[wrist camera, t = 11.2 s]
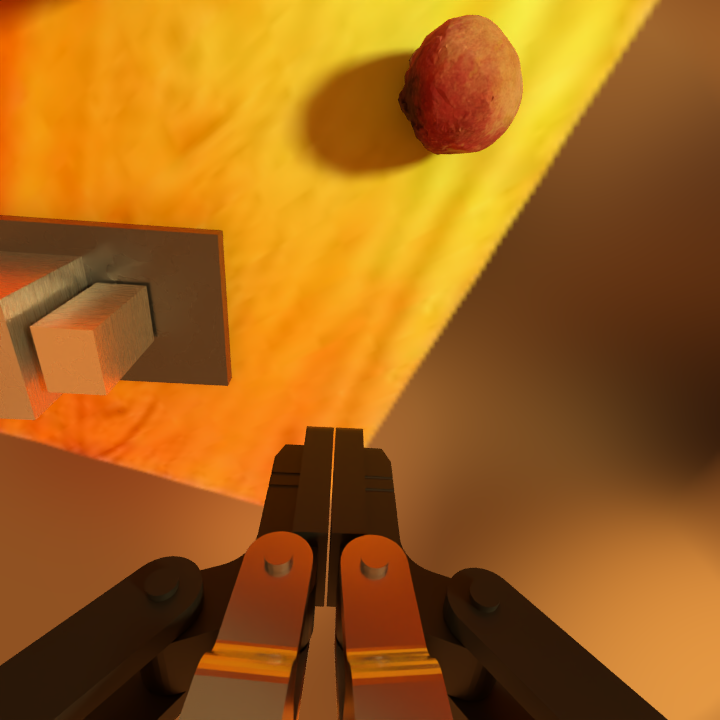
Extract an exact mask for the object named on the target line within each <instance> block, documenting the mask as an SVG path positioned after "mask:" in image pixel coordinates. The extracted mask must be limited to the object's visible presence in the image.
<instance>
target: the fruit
mask: <svg viewBox="0 0 720 720" xmlns="http://www.w3.org/2000/svg"><path fill="white" fill-rule="evenodd" d="M409 61H410V68H409V70H408V71H407V72H406V74H405V85H404V87H403V90H402V91H401V92H400V94H399V99H398V101H399V104H400V107H401V110H402V112H403V113H404V114H405V115H406V117H407V119H408V120H409V121H410V122H411V124H412V127H413V130H414V132H415V135H416V138H418V139H419V140H420V141H421V142H422V144H423V145H424V147H425V148H426V149H427V150H429V151H431V152H432V153H434V154H437V155H438V154H460V153H471V152H478V151H481V150H483V149H485V148H487V147H489V146H490V145H491V144H493V143H494V142H495V141H496V140H497V139H498V138H499V137H500V136H501V135H502V134H503V133H504V132H505V131H506V130H507V129H508V127H509V126H510V124H511V123H512V121H513V119H514V117H515V115H516V113H517V111H518V109H519V106H520V102H521V99H522V93H523V81H522V74H521V67H520V61H519V57H518V55H517V53H516V51H515V49H514V47H513V46H512V44H511V43H510V41H509V40H508V39H507V37H506V36H505V35H504V33H503V32H502V31H501V30H500V28H499V27H498V26H497V25H496V24H495V23H493V22H492V21H491V20H489V19H488V18H485V17H482V16H479V15H466V16H461V17H457V18H452V19H449V20H447V21H446V22H445V23H444V24H442V25H441V26H439V27H438V28H437V29H435V30H434V31H433V32H431V33H430V34H429V35H428V36H426V38H425V39H424V41H423V43H422V44H421V46H420V48H419V49H417V50H416V51H415V52H414V54H413V55H412V57H411V58H410V60H409Z"/></svg>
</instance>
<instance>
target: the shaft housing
mask: <svg viewBox="0 0 720 720" xmlns="http://www.w3.org/2000/svg"><path fill="white" fill-rule="evenodd" d="M95 283H111V284H127V285H143V286H146V287H147V294H148V301H149V307H150V314H151V321H152V328H153V335H154V341H153V342H152V344H151V345H150V346H149V347H148V348H147V349H146V351H145V352H144V353H143V354H142V355H141V356H140V357H139V359H138V360H137V361H136V362H135V363H134V364H133V365H132V367H131V368H130V369H129V370H128V371H127V372H126V373H125V375H124V376H123V377H122V378H121V379H120V380H128V381H147V382H166V383H185V384H204V385H223V386H228V385H229V382H230V380H231V378H232V376H231V360H230V344H229V328H228V313H227V297H226V281H225V265H224V250H223V234H222V231H221V230H206V229H192V228H177V227H163V226H149V225H134V224H120V223H106V222H91V221H77V220H62V219H48V218H34V217H19V216H5V215H0V418H4V419H25V420H36V419H37V418H38V417H39V416H40V415H41V414H42V413H43V412H44V411H45V410H46V409H47V408H48V407H50V406H51V405H52V404H53V403H54V402H55V401H56V400H57V399H58V398H59V397H60V396H61V395H62V394H63V393H54V392H48V391H47V387H46V383H45V380H44V376H43V373H42V369H41V366H40V362H39V358H38V355H37V351H36V348H35V344H34V341H33V337H32V333H31V330H30V326H31V325H33V324H34V323H36V322H37V321H39V320H41V319H42V318H44V317H45V316H47V315H48V314H50V313H51V312H53V311H54V310H56V309H57V308H59V307H60V306H62V305H63V304H65V303H66V302H68V301H69V300H71V299H72V298H74V297H75V296H77V295H79V294H80V293H82V292H83V291H85V290H86V289H88V288H89V287H91V286H92V285H94V284H95Z"/></svg>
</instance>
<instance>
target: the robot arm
mask: <svg viewBox="0 0 720 720" xmlns="http://www.w3.org/2000/svg"><path fill="white" fill-rule="evenodd" d="M333 431H334V428H332V427H311V426H307V429H306V436H305V443H304V445H287V444H286V445H285V446H284V447H283V448H282V449H281V451H280V452H279V453H278V454H277V455H276V456H275V459H274V464H273V468H272V474H271V477H270V482H269V487H268V491H267V495H266V500H265V504H264V509H263V513H262V518H261V522H260V527H259V532H258V535H257V538H256V540H255V541H254V542H253V543H252V544H251V545H250V546H249V548H248V549H247V551H246V553H245V554H243V556H241V557H239V558H238V559H236V560H234V561H232V562H230V563H227V564H223V565H220V566H216V567H212V568H208V569H204V570H199V568H198V566H197V565H196V564H195V563H194V562H192V561H190V560H189V559H186V558H183V557H175V556H171V557H164V558H160V559H157V560H154V561H152V562H150V563H148V564H146V565H144V566H143V567H141V568H140V569H138V570H137V571H135V572H134V573H133V574H131V575H130V576H128V577H127V578H125V579H124V580H123V581H121V582H120V583H118V584H117V585H115V586H114V587H112V588H111V589H110V590H108V591H107V592H105V593H104V594H103V595H101V596H99V597H98V598H97V599H95V600H94V601H92V602H91V603H90V604H88V605H87V606H85V607H84V608H82V609H81V610H79V611H78V612H77V613H75V614H74V615H73V616H71V617H69V618H68V619H67V620H65V621H64V622H62V623H61V624H59V625H58V626H57V627H55V628H54V629H52V630H51V631H49V632H48V633H46V634H45V635H44V636H42V637H41V638H40V639H38V640H36V641H35V642H34V643H32V644H31V645H29V646H28V647H26V648H25V649H24V650H22V651H21V652H19V653H18V654H16V655H15V656H14V657H12V658H11V659H9V660H8V661H6V662H5V663H3V664H2V665H1V666H0V720H175V719H176V718H177V717H178V716H179V714H180V717H179V720H298V717H299V710H300V704H301V698H302V691H303V684H304V678H305V671H306V664H307V658H308V652H309V645H310V638H311V635H312V632H313V627H314V613H315V606H324V595H325V578H326V561H327V543H328V525H329V507H330V488H331V469H332V450H333ZM397 520H398V519H397V511H396V502H395V494H394V486H393V480H392V468H391V462H390V460H389V459H388V458H387V456H386V455H385V453H384V452H383V450H382V449H375V448H364V445H363V429H354V428H336V437H335V453H334V470H333V488H332V508H331V530H330V551H329V571H328V572H329V573H328V593H327V606H331V607H336V620H335V621H336V622H335V638H334V654H335V677H336V698H337V720H667V719H666V718H665V717H664V716H663V715H662V714H660V713H659V712H658V711H657V710H656V709H655V708H653V707H652V706H651V705H650V704H649V703H648V702H646V701H645V700H644V699H643V698H642V697H641V696H639V695H638V694H637V693H636V692H635V691H634V690H632V689H631V688H630V687H629V686H628V685H627V684H625V683H624V682H623V681H622V680H621V679H620V678H618V677H617V676H616V675H615V674H614V673H613V672H611V671H610V670H609V669H608V668H607V667H606V666H604V665H603V664H602V663H601V662H600V661H598V660H597V659H596V658H595V657H594V656H593V655H592V654H590V653H589V652H588V651H587V650H586V649H584V648H583V647H582V646H581V645H580V644H579V643H578V642H576V641H575V640H574V639H573V638H572V637H571V636H569V635H568V634H567V633H566V632H565V631H564V630H562V629H561V628H560V627H559V626H558V625H557V624H555V623H554V622H553V621H552V620H551V619H550V618H548V617H547V616H546V615H545V614H544V613H543V612H541V611H540V610H539V609H538V608H537V607H536V606H534V605H533V604H532V603H531V602H530V601H529V600H527V599H526V598H525V597H524V596H523V595H522V594H520V593H519V592H518V591H517V590H516V589H514V588H513V587H512V586H511V585H510V584H509V583H508V582H506V581H505V580H504V579H503V578H501V577H500V576H498V575H497V574H495V573H493V572H491V571H488V570H485V569H480V568H468V569H463V570H461V571H459V572H457V573H456V574H455V575H454V576H453V577H452V578H449V577H445V576H443V575H440V574H436V573H433V572H431V571H428V570H426V569H424V568H422V567H420V566H419V565H417V564H416V563H415V562H413V561H412V560H411V559H410V558H409V557H408V555H407V554H406V553H405V551H404V550H403V548H402V545H401V542H400V536H399V528H398V521H397Z"/></svg>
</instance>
